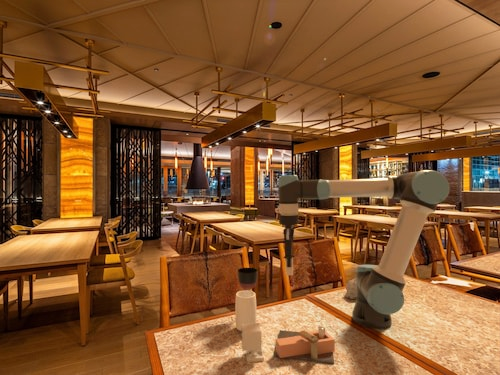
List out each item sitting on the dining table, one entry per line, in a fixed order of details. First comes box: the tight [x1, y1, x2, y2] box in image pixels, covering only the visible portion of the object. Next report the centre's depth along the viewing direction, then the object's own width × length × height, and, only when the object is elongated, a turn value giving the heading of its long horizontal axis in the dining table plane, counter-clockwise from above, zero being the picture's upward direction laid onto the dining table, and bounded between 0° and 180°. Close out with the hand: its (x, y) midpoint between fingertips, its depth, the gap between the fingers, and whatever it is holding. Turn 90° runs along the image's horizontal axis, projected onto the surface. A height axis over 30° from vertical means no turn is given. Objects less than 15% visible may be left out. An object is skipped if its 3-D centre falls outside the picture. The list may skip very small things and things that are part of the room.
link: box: [275, 330, 336, 359], centre depth 94 cm, size 19×7×4 cm, turn 104°
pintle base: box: [273, 326, 335, 365], centre depth 97 cm, size 19×17×8 cm
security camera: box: [240, 322, 265, 363], centre depth 92 cm, size 6×7×10 cm
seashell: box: [344, 277, 357, 301], centre depth 144 cm, size 12×14×10 cm
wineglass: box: [237, 267, 258, 291], centre depth 123 cm, size 8×9×20 cm
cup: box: [234, 289, 257, 332], centre depth 111 cm, size 8×8×14 cm
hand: (289, 274), depth 109 cm, fingers closed
